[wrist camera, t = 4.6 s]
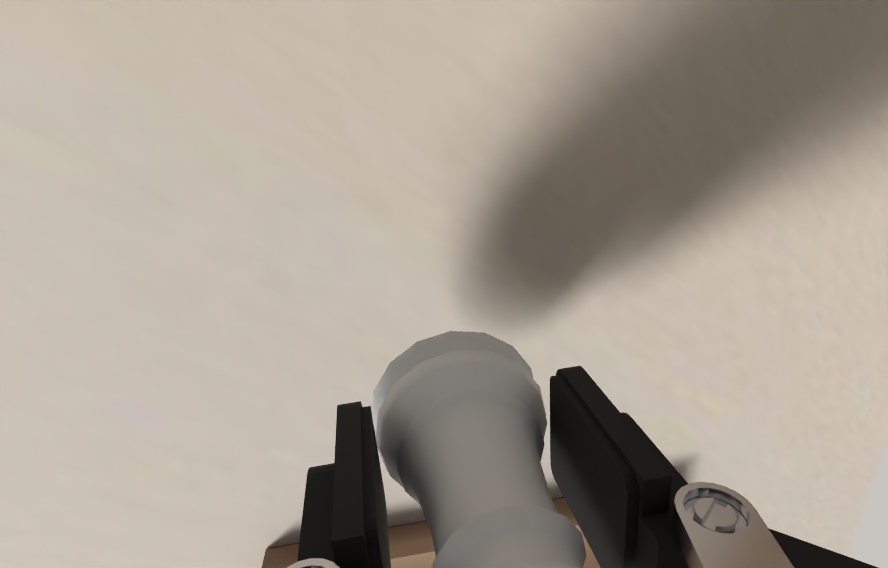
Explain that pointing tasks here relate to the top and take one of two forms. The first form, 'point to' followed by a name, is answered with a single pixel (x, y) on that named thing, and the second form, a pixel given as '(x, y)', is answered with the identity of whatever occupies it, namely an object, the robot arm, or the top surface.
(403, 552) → the jig board
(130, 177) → the top surface
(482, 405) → the rook chess piece
